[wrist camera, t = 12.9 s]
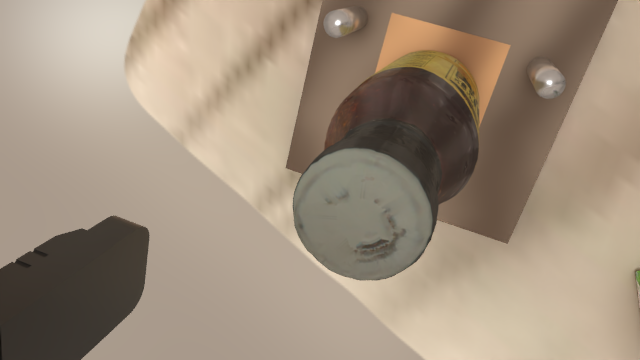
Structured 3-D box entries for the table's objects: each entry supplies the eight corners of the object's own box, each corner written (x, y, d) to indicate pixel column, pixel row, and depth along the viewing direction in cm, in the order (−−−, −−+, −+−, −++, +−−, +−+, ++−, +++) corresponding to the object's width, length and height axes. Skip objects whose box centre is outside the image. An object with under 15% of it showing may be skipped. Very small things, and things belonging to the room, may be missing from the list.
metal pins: (557, 60, 29) (570, 74, 25) (487, 225, 34) (487, 262, 29) (348, 3, 31) (327, 7, 27) (309, 165, 36) (285, 191, 32)
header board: (615, -6, 28) (620, -5, 27) (506, 235, 35) (507, 244, 34) (344, -73, 31) (338, -75, 30) (291, 162, 38) (285, 168, 37)
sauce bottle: (471, 151, 32) (458, 357, 15) (374, 139, 34) (255, 311, 16) (488, 45, 30) (498, 137, 12) (382, 37, 31) (254, 108, 14)
